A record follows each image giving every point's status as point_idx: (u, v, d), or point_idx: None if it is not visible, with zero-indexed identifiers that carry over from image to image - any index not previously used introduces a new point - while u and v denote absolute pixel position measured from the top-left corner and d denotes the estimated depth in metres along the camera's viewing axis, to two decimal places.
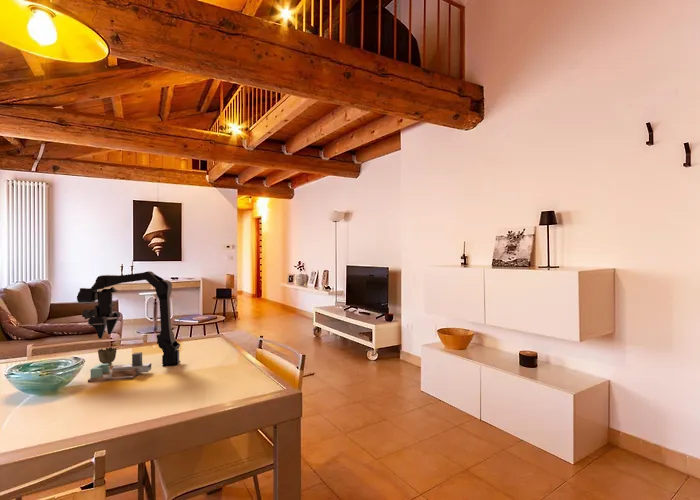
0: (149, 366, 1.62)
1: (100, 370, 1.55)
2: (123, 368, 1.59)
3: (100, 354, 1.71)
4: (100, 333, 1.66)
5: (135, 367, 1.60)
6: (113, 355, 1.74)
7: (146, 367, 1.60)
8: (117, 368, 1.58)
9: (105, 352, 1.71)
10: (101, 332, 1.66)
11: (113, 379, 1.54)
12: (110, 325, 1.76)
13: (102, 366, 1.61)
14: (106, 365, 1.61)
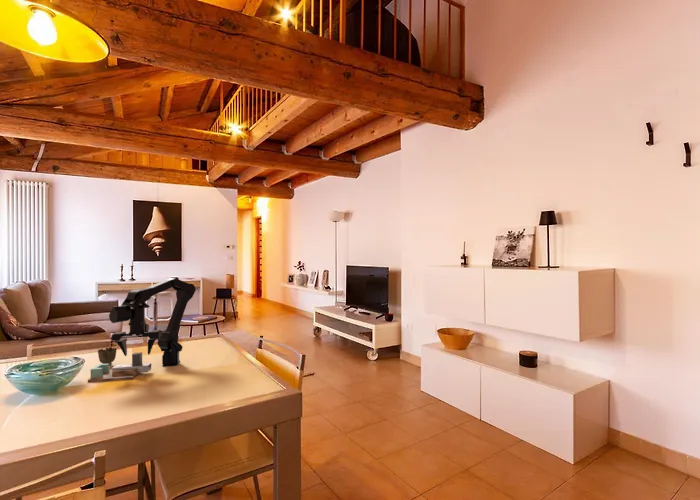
0: (149, 366, 1.62)
1: (100, 370, 1.55)
2: (123, 368, 1.59)
3: (100, 354, 1.71)
4: None
5: (135, 367, 1.60)
6: (113, 355, 1.74)
7: (146, 367, 1.60)
8: (117, 368, 1.58)
9: (105, 352, 1.71)
10: None
11: (113, 379, 1.54)
12: None
13: (102, 366, 1.61)
14: (106, 365, 1.61)
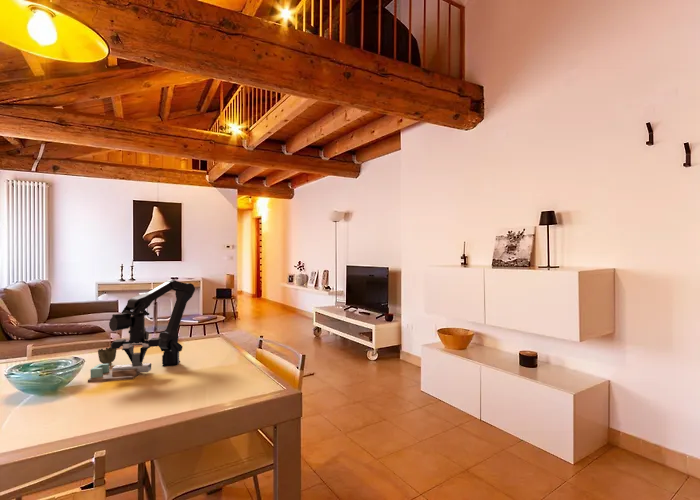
0: (149, 366, 1.62)
1: (100, 370, 1.55)
2: (123, 368, 1.59)
3: (100, 354, 1.71)
4: None
5: (135, 367, 1.60)
6: (113, 355, 1.74)
7: (146, 367, 1.60)
8: (117, 368, 1.58)
9: (105, 352, 1.71)
10: None
11: (113, 379, 1.54)
12: None
13: (102, 366, 1.61)
14: (106, 365, 1.61)
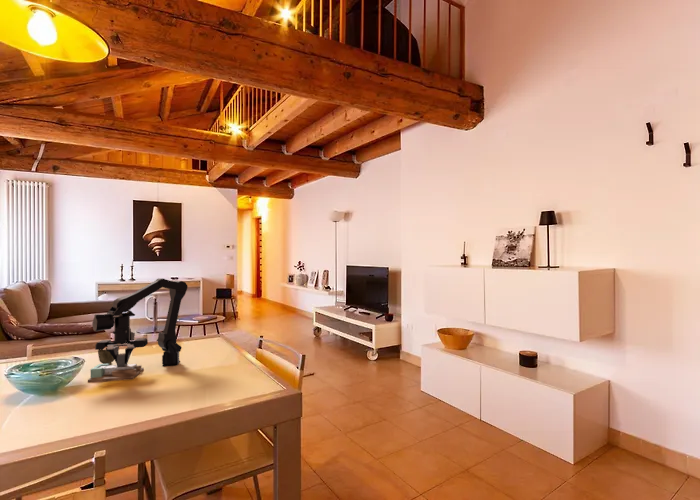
0: (134, 367, 1.61)
1: (100, 370, 1.55)
2: (108, 369, 1.57)
3: (100, 354, 1.71)
4: None
5: (120, 368, 1.58)
6: None
7: (131, 368, 1.59)
8: None
9: (105, 352, 1.71)
10: None
11: (113, 379, 1.54)
12: None
13: None
14: (106, 365, 1.61)
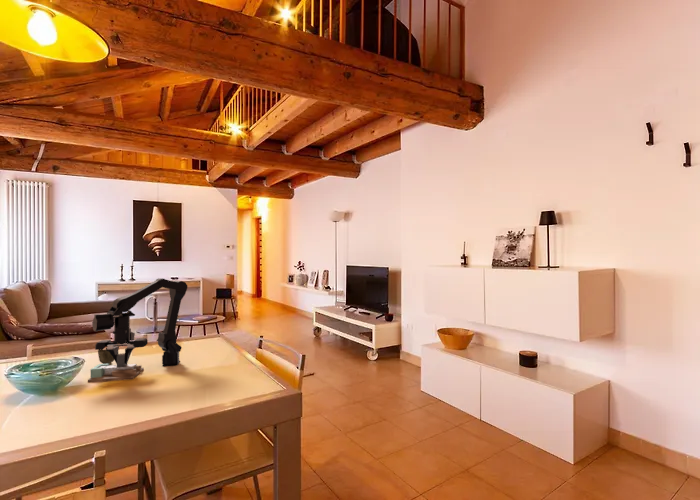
0: (134, 367, 1.61)
1: (100, 370, 1.55)
2: (108, 369, 1.57)
3: (100, 354, 1.71)
4: None
5: (120, 368, 1.58)
6: None
7: (131, 368, 1.59)
8: None
9: (105, 352, 1.71)
10: None
11: (113, 379, 1.54)
12: None
13: None
14: (106, 365, 1.61)
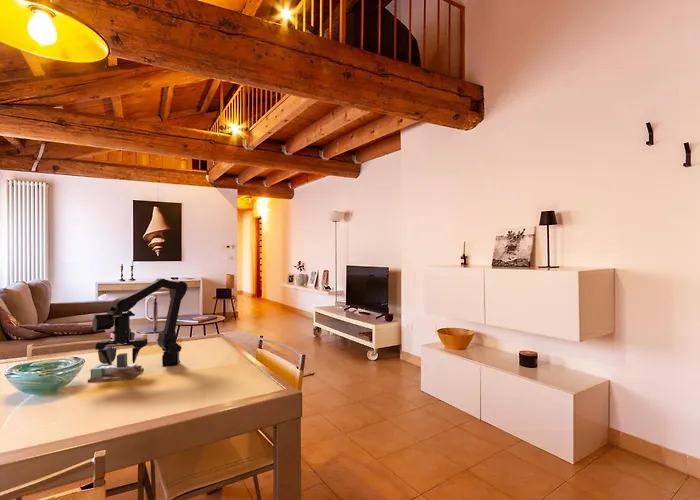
0: (134, 367, 1.61)
1: (100, 370, 1.55)
2: (108, 369, 1.57)
3: (100, 354, 1.71)
4: None
5: (120, 368, 1.58)
6: (113, 355, 1.74)
7: (131, 368, 1.59)
8: None
9: None
10: None
11: (113, 379, 1.54)
12: None
13: None
14: (106, 365, 1.61)
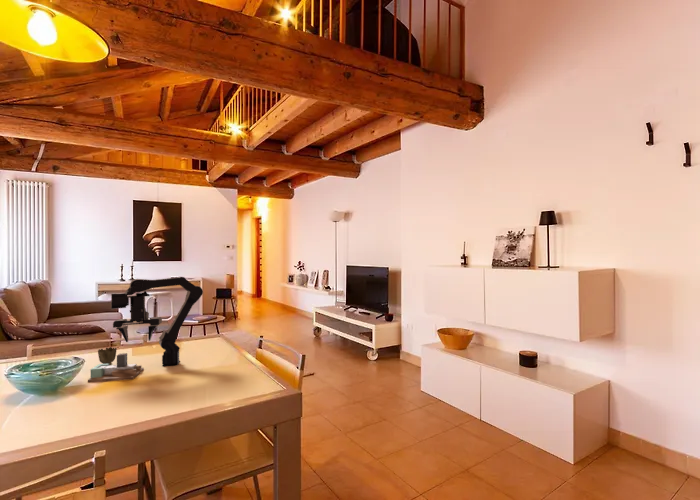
0: (134, 367, 1.61)
1: (100, 370, 1.55)
2: (108, 369, 1.57)
3: (100, 354, 1.71)
4: None
5: (120, 368, 1.58)
6: (113, 355, 1.74)
7: (131, 368, 1.59)
8: None
9: (105, 352, 1.71)
10: None
11: (113, 379, 1.54)
12: None
13: None
14: (106, 365, 1.61)
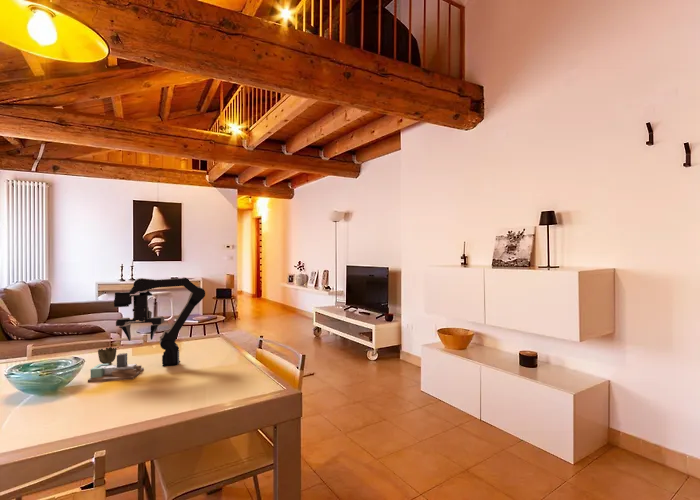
0: (134, 367, 1.61)
1: (100, 370, 1.55)
2: (108, 369, 1.57)
3: (100, 354, 1.71)
4: None
5: (120, 368, 1.58)
6: (113, 355, 1.74)
7: (131, 368, 1.59)
8: None
9: (105, 352, 1.71)
10: None
11: (113, 379, 1.54)
12: None
13: None
14: (106, 365, 1.61)
